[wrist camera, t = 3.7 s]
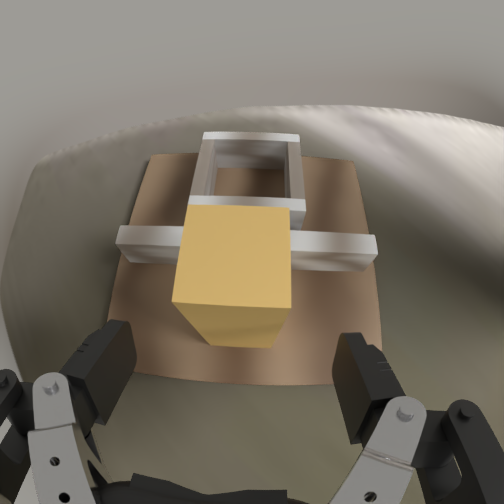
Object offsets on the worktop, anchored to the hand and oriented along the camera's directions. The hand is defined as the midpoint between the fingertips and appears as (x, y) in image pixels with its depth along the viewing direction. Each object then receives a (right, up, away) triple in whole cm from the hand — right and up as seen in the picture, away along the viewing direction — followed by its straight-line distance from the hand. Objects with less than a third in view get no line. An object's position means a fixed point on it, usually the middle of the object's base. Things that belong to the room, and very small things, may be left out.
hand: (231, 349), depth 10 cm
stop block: (0, -1, +9) cm, 9 cm away
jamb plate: (0, +4, +12) cm, 13 cm away
